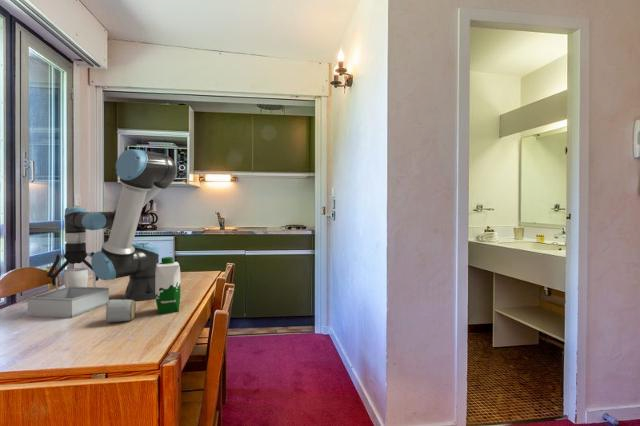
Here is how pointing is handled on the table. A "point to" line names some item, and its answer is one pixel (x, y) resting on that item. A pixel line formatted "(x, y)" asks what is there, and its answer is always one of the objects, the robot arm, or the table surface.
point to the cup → (76, 277)
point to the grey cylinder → (120, 310)
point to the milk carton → (167, 285)
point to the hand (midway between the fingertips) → (76, 290)
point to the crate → (68, 302)
